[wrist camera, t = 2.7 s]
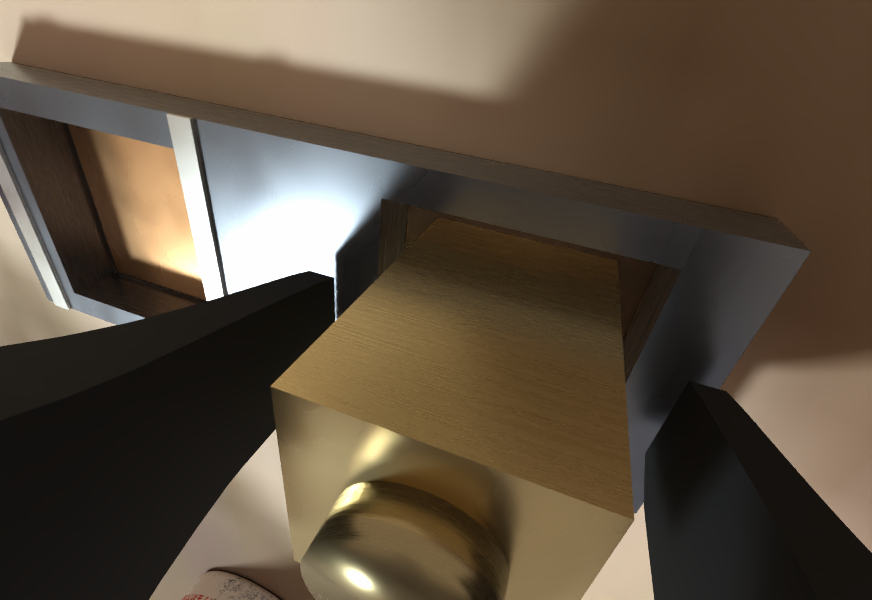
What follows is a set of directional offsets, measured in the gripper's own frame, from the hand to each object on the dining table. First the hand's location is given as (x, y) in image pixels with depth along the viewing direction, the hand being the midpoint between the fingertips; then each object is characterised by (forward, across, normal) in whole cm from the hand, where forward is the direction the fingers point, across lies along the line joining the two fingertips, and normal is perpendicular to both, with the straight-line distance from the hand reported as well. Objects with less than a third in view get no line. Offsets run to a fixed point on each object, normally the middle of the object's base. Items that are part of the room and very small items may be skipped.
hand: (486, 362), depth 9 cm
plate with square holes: (+2, +5, 0) cm, 6 cm away
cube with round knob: (+2, 0, 0) cm, 2 cm away
